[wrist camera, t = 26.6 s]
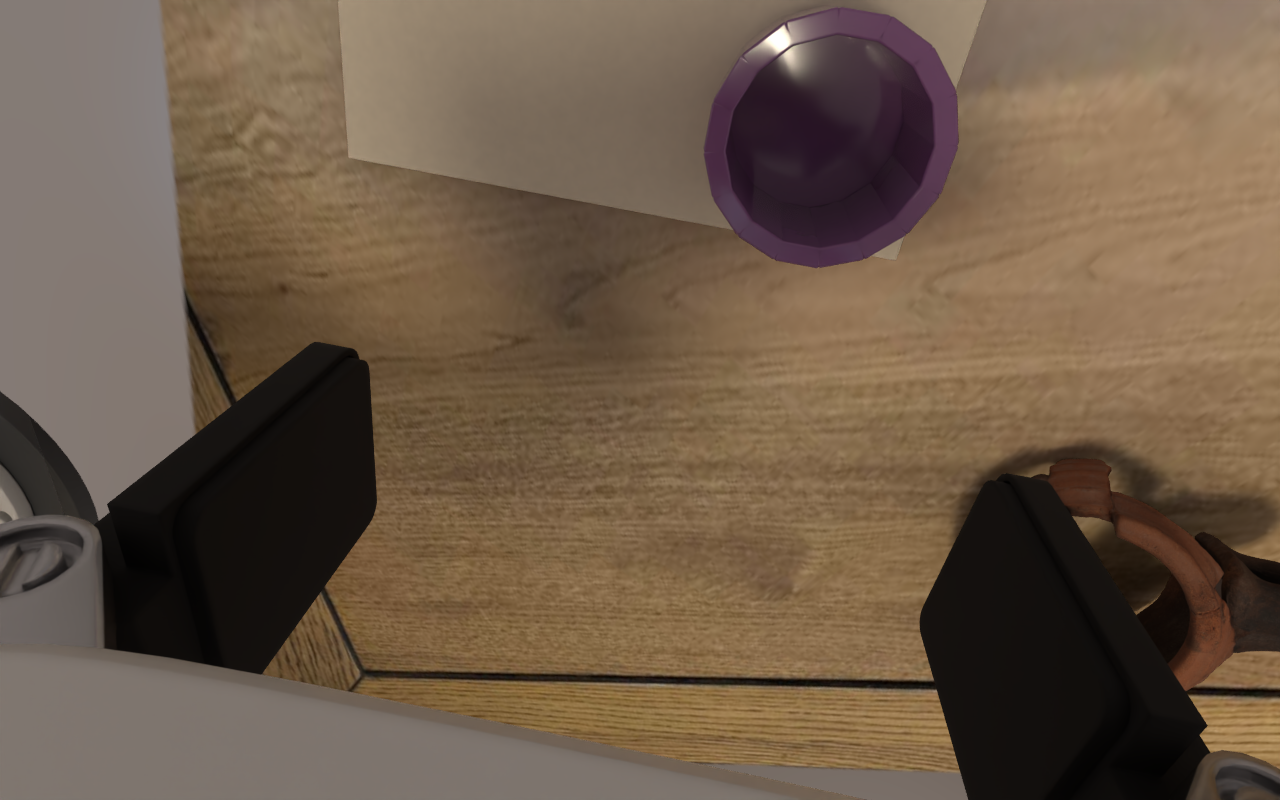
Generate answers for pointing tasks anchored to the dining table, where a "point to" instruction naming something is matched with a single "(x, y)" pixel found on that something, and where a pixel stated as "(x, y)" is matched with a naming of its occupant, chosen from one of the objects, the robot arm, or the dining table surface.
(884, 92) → the purple hollow cylinder
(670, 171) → the placemat
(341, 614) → the dining table surface
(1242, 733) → the dining table surface
